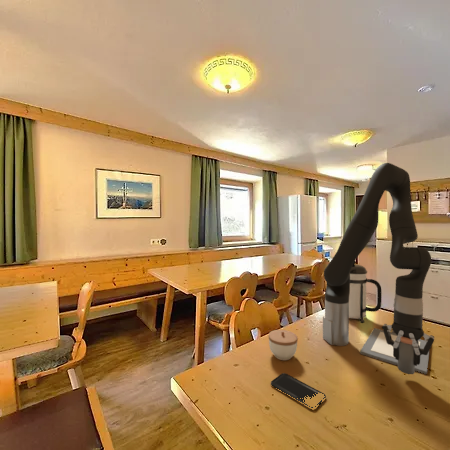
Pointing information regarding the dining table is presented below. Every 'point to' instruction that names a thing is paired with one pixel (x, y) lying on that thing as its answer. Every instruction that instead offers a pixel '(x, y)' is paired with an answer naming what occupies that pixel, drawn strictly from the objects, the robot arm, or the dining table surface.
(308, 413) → the dining table surface
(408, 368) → the grey cylindrical piece
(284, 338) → the lidded jar
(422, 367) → the drawing board
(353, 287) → the coffee press
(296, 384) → the phone
